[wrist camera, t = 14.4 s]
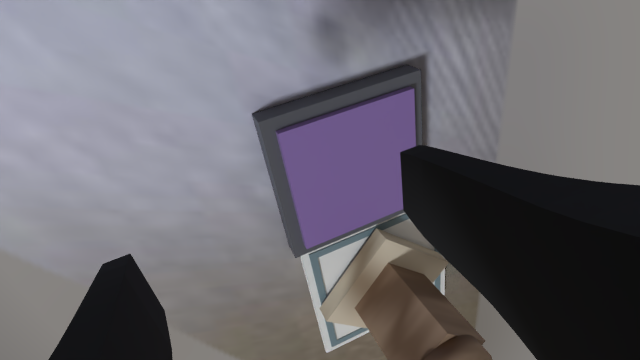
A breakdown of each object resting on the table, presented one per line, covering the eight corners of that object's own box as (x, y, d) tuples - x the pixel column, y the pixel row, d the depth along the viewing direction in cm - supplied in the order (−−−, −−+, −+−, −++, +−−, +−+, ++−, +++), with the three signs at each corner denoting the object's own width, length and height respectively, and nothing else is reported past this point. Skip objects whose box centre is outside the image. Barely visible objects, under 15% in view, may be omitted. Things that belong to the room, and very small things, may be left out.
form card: (443, 188, 27) (447, 191, 27) (442, 292, 33) (445, 295, 33) (298, 248, 25) (300, 252, 24) (325, 349, 31) (327, 354, 31)
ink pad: (407, 64, 22) (425, 71, 20) (412, 195, 27) (427, 207, 25) (251, 113, 19) (260, 125, 18) (289, 246, 24) (297, 262, 23)
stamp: (374, 225, 26) (464, 326, 19) (435, 250, 30) (529, 340, 23) (317, 305, 27) (383, 425, 21) (383, 318, 31) (456, 422, 25)
